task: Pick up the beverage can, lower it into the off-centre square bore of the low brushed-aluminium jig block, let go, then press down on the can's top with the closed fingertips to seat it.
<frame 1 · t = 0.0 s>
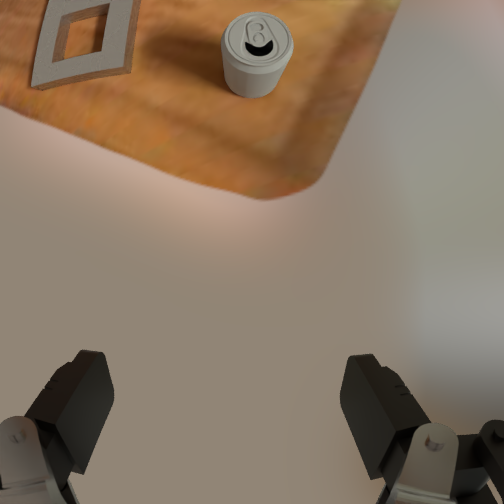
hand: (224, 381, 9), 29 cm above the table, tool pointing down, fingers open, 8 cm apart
beverage can: (251, 75, 33), on the table
jig: (90, 30, 29), on the table
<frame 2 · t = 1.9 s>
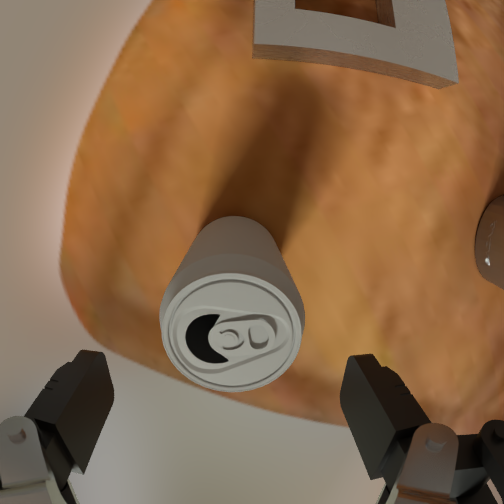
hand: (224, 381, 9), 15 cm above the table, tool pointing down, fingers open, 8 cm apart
beverage can: (234, 255, 24), on the table
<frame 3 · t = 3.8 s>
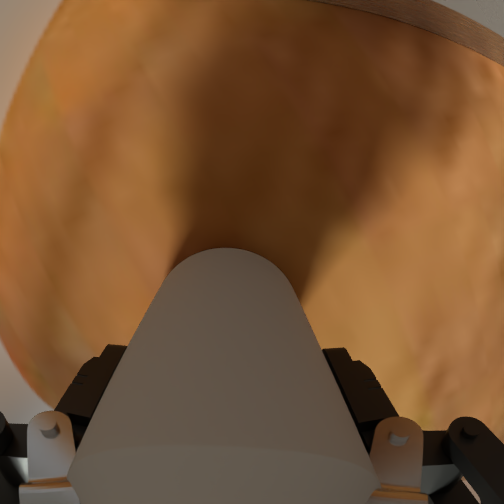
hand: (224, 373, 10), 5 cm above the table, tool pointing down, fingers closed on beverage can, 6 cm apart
beverage can: (227, 307, 15), on the table, touching gripper
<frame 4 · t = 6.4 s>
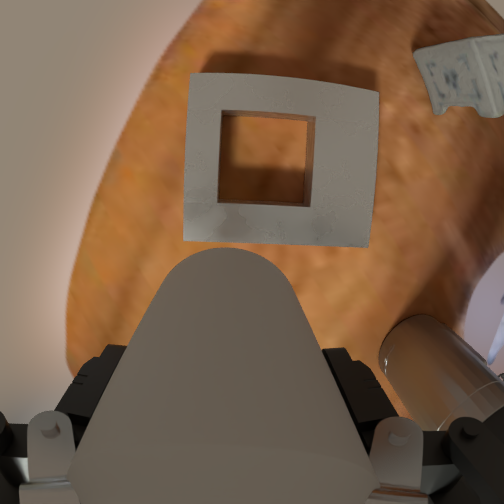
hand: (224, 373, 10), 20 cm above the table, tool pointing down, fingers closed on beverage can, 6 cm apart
beverage can: (227, 307, 15), point 15 cm above the table, touching gripper
jig: (280, 159, 27), on the table
incense holder: (449, 80, 25), on the table
when the fingers open (6 cm above the table, at t = 9.4 s): beverage can drops 1 cm, resting in jig.
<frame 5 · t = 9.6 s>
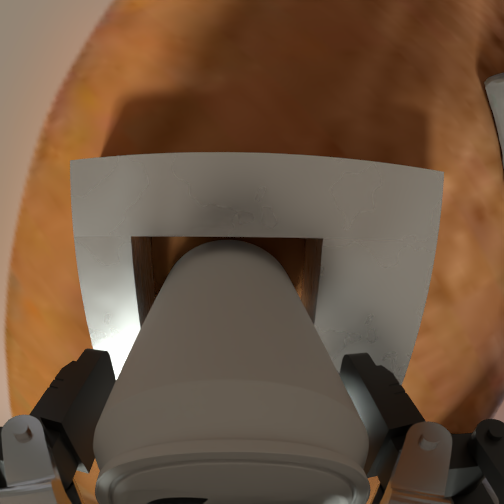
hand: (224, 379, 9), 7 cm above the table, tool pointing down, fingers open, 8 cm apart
beverage can: (228, 295, 16), resting in jig
jig: (256, 296, 16), on the table
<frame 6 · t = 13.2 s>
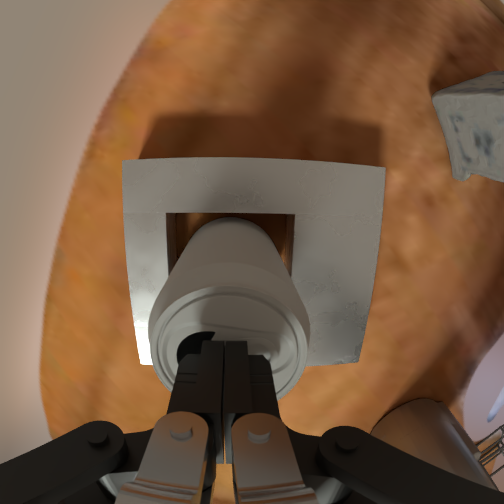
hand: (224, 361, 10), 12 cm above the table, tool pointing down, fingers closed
geometric lantern: (480, 449, 34), on the table
beverage can: (231, 259, 22), resting in jig, touching gripper
jig: (251, 260, 22), on the table
incense holder: (473, 127, 20), on the table
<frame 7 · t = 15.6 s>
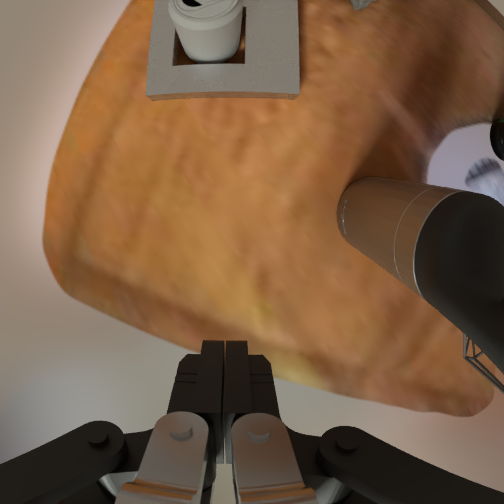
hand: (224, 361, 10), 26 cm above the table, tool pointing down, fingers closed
supplement bottle: (500, 139, 34), on the table
geometric lantern: (473, 308, 42), on the table
beverage can: (212, 44, 30), resting in jig
jig: (224, 43, 30), on the table
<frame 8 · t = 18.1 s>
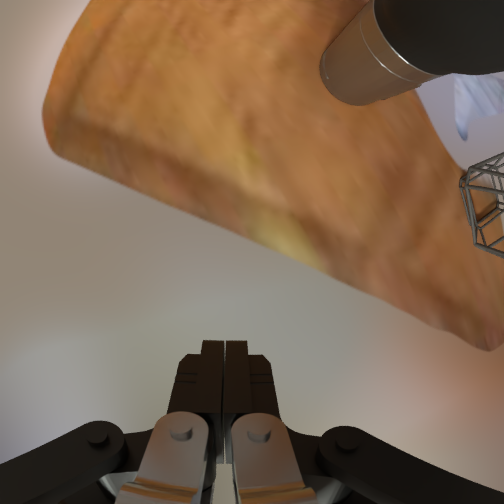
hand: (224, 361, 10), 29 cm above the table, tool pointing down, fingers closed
geometric lantern: (475, 198, 39), on the table
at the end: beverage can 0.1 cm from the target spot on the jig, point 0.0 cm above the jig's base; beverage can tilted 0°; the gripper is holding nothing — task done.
